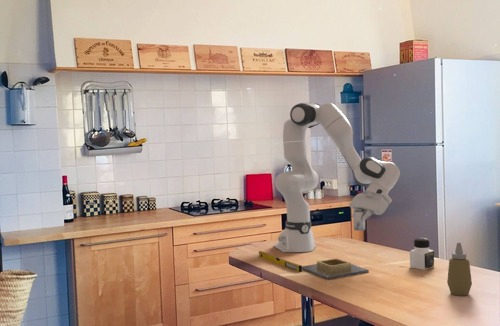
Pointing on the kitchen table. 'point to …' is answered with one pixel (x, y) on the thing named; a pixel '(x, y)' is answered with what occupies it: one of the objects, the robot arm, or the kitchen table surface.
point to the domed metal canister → (359, 219)
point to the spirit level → (280, 261)
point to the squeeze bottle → (459, 273)
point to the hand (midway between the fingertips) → (358, 218)
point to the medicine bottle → (421, 255)
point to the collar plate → (334, 269)
